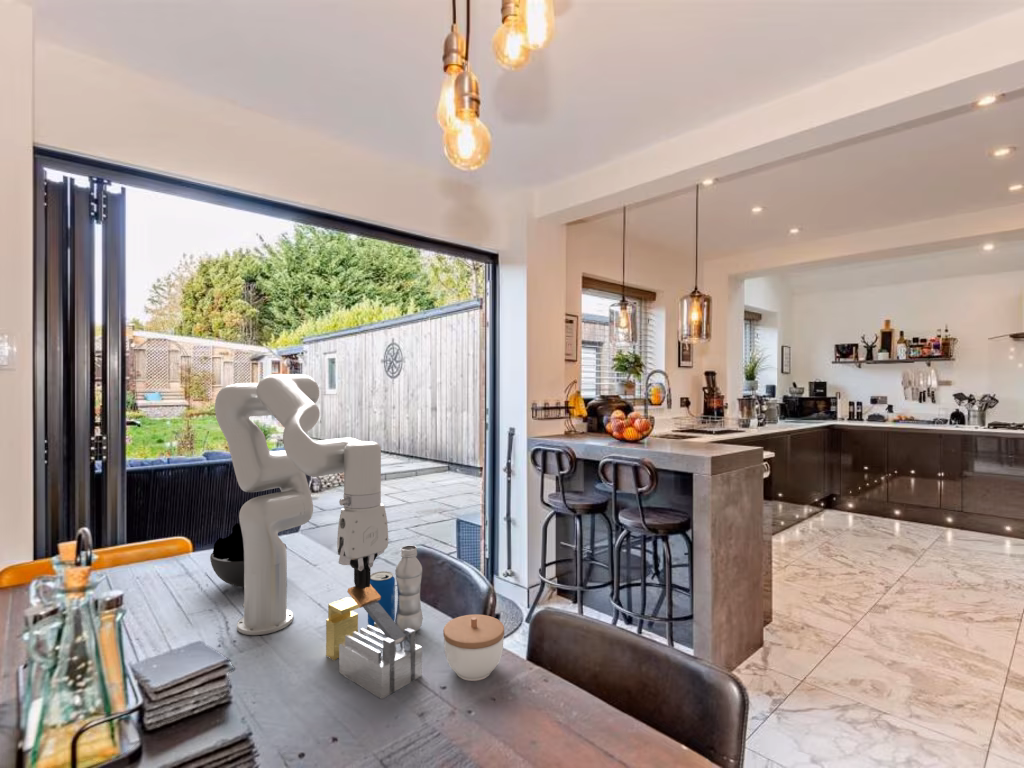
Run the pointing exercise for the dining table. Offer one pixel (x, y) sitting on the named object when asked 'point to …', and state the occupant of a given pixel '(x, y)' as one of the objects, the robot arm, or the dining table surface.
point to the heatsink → (380, 660)
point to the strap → (377, 612)
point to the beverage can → (384, 592)
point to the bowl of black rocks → (230, 557)
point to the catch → (340, 624)
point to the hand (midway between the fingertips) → (362, 586)
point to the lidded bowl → (473, 645)
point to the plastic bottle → (408, 590)
